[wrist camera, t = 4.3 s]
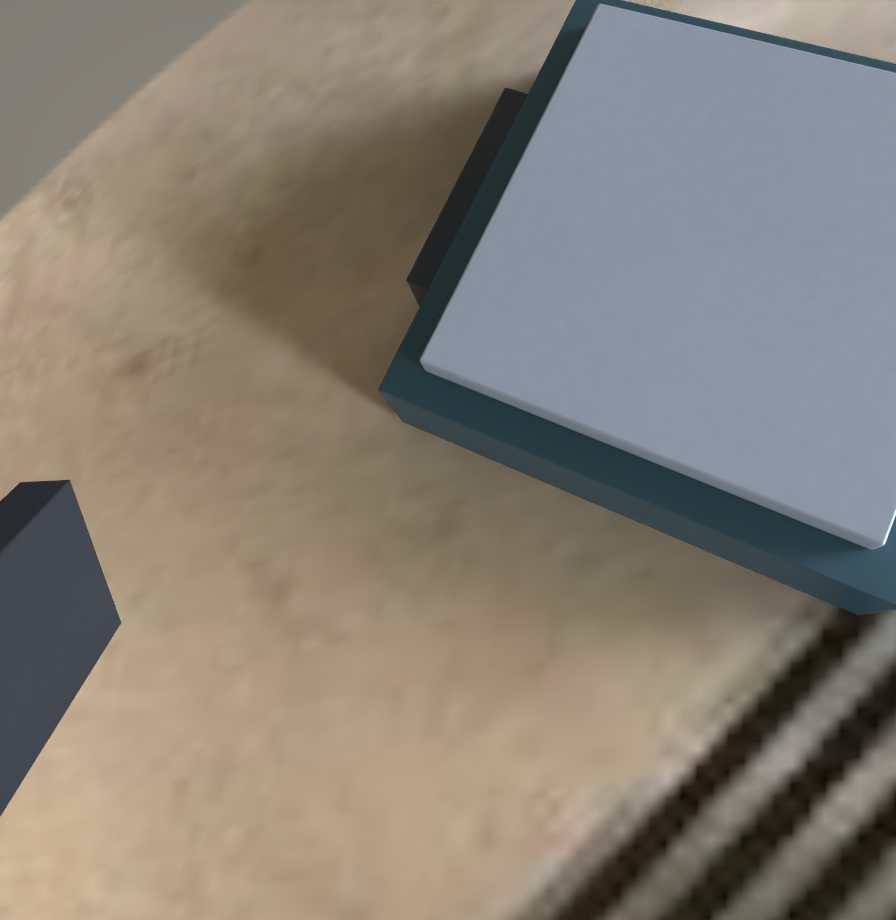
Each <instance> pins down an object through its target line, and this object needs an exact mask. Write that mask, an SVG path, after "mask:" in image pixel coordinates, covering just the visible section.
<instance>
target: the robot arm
mask: <svg viewBox="0 0 896 920" xmlns="http://www.w3.org/2000/svg"><path fill="white" fill-rule="evenodd" d="M120 624H121V621H120V618H119V615H118V612H117V610H116V607H115V604H114V601H113V599H112V596H111V593H110V590H109V588H108V585H107V582H106V579H105V577H104V574H103V571H102V568H101V565H100V563H99V560H98V557H97V554H96V552H95V549H94V546H93V543H92V541H91V538H90V535H89V532H88V529H87V527H86V524H85V521H84V518H83V516H82V513H81V510H80V507H79V505H78V502H77V499H76V496H75V493H74V491H73V488H72V485H71V482H70V480H60V481H39V482H20V483H19V484H18V485H17V486H16V487H15V488H14V489H13V490H12V491H11V492H10V493H9V494H8V495H7V496H6V497H5V498H3V499H2V500H1V501H0V816H1V815H2V813H3V811H4V810H5V808H6V807H7V805H8V803H9V802H10V800H11V799H12V797H13V795H14V794H15V792H16V791H17V789H18V787H19V786H20V784H21V783H22V781H23V779H24V778H25V776H26V774H27V773H28V771H29V770H30V768H31V766H32V765H33V763H34V762H35V760H36V758H37V757H38V755H39V754H40V752H41V750H42V749H43V747H44V746H45V744H46V742H47V741H48V739H49V738H50V736H51V734H52V733H53V731H54V730H55V728H56V726H57V725H58V723H59V722H60V720H61V718H62V717H63V715H64V714H65V712H66V710H67V709H68V707H69V706H70V704H71V702H72V701H73V699H74V698H75V696H76V694H77V693H78V691H79V690H80V688H81V686H82V685H83V683H84V682H85V680H86V678H87V677H88V675H89V674H90V672H91V670H92V669H93V667H94V666H95V664H96V662H97V661H98V659H99V658H100V656H101V654H102V653H103V651H104V650H105V648H106V646H107V645H108V643H109V642H110V640H111V638H112V637H113V635H114V634H115V632H116V630H117V629H118V627H119V626H120Z"/></svg>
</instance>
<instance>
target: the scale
mask: <svg viewBox="0 0 896 920" xmlns="http://www.w3.org/2000/svg"><path fill="white" fill-rule="evenodd" d="M407 282H408V284H409V286H410V288H411V290H412V292H413V294H414V296H415V299H416V301H417V303H418V305H419V306H420V308H419V310H418V312H417V314H416V316H415V318H414V320H413V322H412V324H411V326H410V328H409V330H408V332H407V334H406V336H405V338H404V340H403V341H402V343H401V345H400V347H399V349H398V351H397V353H396V355H395V357H394V359H393V361H392V363H391V365H390V367H389V369H388V371H387V373H386V375H385V377H384V379H383V381H382V383H381V385H380V387H379V389H378V391H379V392H380V393H381V394H382V396H383V397H384V398H385V399H386V401H387V402H388V403H389V404H390V406H391V407H392V408H393V409H394V411H395V412H396V413H397V414H398V416H399V417H400V418H401V419H402V421H403V422H405V423H407V424H410V425H412V426H414V427H417V428H419V429H421V430H424V431H426V432H428V433H431V434H433V435H435V436H438V437H440V438H442V439H445V440H447V441H450V442H452V443H454V444H457V445H459V446H461V447H464V448H466V449H468V450H471V451H473V452H475V453H478V454H480V455H482V456H485V457H487V458H489V459H492V460H494V461H496V462H499V463H501V464H504V465H506V466H508V467H511V468H513V469H515V470H518V471H520V472H522V473H525V474H527V475H529V476H532V477H534V478H536V479H539V480H541V481H543V482H546V483H548V484H551V485H553V486H555V487H558V488H560V489H562V490H565V491H567V492H569V493H572V494H574V495H576V496H579V497H581V498H583V499H586V500H588V501H590V502H593V503H595V504H598V505H600V506H602V507H605V508H607V509H609V510H612V511H614V512H616V513H619V514H621V515H623V516H626V517H628V518H630V519H633V520H635V521H637V522H640V523H642V524H645V525H647V526H649V527H652V528H654V529H656V530H659V531H661V532H663V533H666V534H668V535H670V536H673V537H675V538H677V539H680V540H682V541H684V542H687V543H689V544H691V545H694V546H696V547H699V548H701V549H703V550H706V551H708V552H710V553H713V554H715V555H717V556H720V557H722V558H724V559H727V560H729V561H731V562H734V563H736V564H738V565H741V566H743V567H746V568H748V569H750V570H753V571H755V572H757V573H760V574H762V575H764V576H767V577H769V578H771V579H774V580H776V581H778V582H781V583H783V584H785V585H788V586H790V587H793V588H795V589H797V590H800V591H802V592H804V593H807V594H809V595H811V596H814V597H816V598H818V599H821V600H823V601H825V602H828V603H830V604H832V605H835V606H837V607H840V608H842V609H844V610H847V611H849V612H851V613H854V614H856V615H862V614H869V613H875V612H881V611H888V610H894V609H896V64H894V63H890V62H885V61H881V60H877V59H872V58H868V57H864V56H859V55H855V54H851V53H847V52H842V51H838V50H834V49H829V48H825V47H821V46H816V45H812V44H808V43H803V42H799V41H795V40H791V39H786V38H782V37H778V36H773V35H769V34H765V33H760V32H756V31H752V30H747V29H743V28H739V27H734V26H730V25H726V24H722V23H717V22H713V21H709V20H704V19H700V18H696V17H691V16H687V15H683V14H678V13H674V12H670V11H666V10H661V9H657V8H653V7H648V6H644V5H640V4H635V3H631V2H627V1H622V0H576V1H575V3H574V5H573V7H572V9H571V11H570V13H569V15H568V17H567V19H566V21H565V23H564V25H563V27H562V29H561V31H560V33H559V35H558V37H557V39H556V41H555V42H554V44H553V46H552V48H551V50H550V52H549V54H548V56H547V58H546V60H545V62H544V64H543V66H542V68H541V70H540V72H539V74H538V76H537V78H536V80H535V82H534V84H533V86H532V88H531V90H530V92H529V94H526V93H523V92H519V91H516V90H512V89H508V88H505V89H504V91H503V93H502V95H501V97H500V99H499V101H498V103H497V104H496V106H495V108H494V110H493V112H492V114H491V116H490V118H489V120H488V122H487V124H486V126H485V128H484V130H483V132H482V134H481V136H480V138H479V139H478V141H477V143H476V145H475V147H474V149H473V151H472V153H471V155H470V157H469V159H468V161H467V163H466V165H465V167H464V169H463V171H462V172H461V174H460V176H459V178H458V180H457V182H456V184H455V186H454V188H453V190H452V192H451V194H450V196H449V198H448V200H447V202H446V204H445V205H444V207H443V209H442V211H441V213H440V215H439V217H438V219H437V221H436V223H435V225H434V227H433V229H432V231H431V233H430V235H429V237H428V239H427V240H426V242H425V244H424V246H423V248H422V250H421V252H420V254H419V256H418V258H417V260H416V262H415V264H414V266H413V268H412V270H411V272H410V273H409V275H408V277H407Z"/></svg>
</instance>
